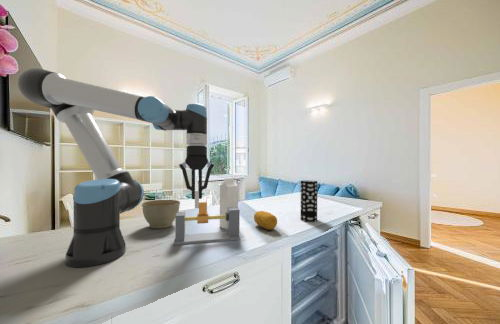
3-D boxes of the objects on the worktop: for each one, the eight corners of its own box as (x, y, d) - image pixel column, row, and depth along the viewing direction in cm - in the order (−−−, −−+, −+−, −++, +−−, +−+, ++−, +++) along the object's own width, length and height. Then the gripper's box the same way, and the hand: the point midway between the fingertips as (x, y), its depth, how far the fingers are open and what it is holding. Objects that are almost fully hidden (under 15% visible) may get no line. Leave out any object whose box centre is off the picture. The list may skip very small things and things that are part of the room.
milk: (237, 227, 97) (238, 178, 97) (227, 229, 92) (227, 179, 93) (229, 224, 101) (230, 177, 101) (219, 226, 97) (219, 178, 97)
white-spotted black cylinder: (306, 216, 115) (306, 180, 116) (320, 220, 109) (320, 181, 109) (297, 219, 110) (297, 180, 110) (310, 223, 104) (311, 182, 104)
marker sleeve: (197, 223, 79) (197, 203, 79) (197, 221, 82) (197, 201, 82) (208, 222, 80) (208, 202, 80) (207, 220, 83) (208, 201, 83)
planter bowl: (171, 231, 89) (172, 206, 89) (134, 231, 90) (134, 205, 90) (184, 221, 105) (184, 199, 105) (152, 220, 106) (152, 199, 106)
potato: (264, 222, 104) (264, 208, 104) (281, 231, 91) (281, 215, 91) (251, 224, 101) (251, 209, 101) (266, 233, 88) (266, 216, 88)
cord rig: (173, 244, 75) (173, 213, 75) (175, 237, 83) (176, 209, 83) (240, 239, 81) (240, 210, 81) (236, 232, 88) (236, 206, 89)
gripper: (177, 144, 76) (178, 210, 76) (214, 145, 79) (214, 208, 79) (179, 146, 83) (179, 206, 83) (213, 146, 86) (213, 204, 86)
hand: (196, 207), depth 81 cm, fingers closed
